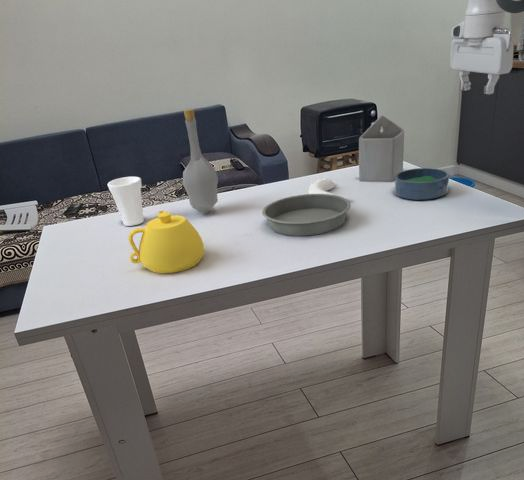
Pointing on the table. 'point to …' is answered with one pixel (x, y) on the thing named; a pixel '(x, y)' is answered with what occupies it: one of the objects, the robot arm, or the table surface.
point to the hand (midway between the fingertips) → (476, 91)
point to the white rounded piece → (321, 187)
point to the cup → (128, 199)
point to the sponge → (422, 179)
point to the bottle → (199, 172)
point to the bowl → (421, 184)
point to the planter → (381, 151)
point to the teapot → (167, 244)
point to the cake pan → (306, 214)
